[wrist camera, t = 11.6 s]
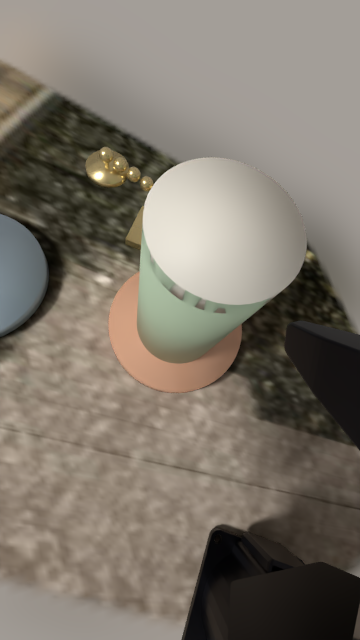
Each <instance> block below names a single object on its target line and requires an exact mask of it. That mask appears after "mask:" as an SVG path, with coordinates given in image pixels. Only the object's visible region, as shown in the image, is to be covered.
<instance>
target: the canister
mask: <svg viewBox="0 0 360 640" xmlns="http://www.w3.org/2000/svg"><path fill="white" fill-rule="evenodd" d="M306 247H307V236H306V230H305V225H304V222H303V219H302V216H301V214H300V212H299V210H298V208H297V206H296V204H295V203H294V201H293V200H292V198H291V197H290V196H289V194H288V193H287V192H286V191H285V190H284V189H283V188H282V187H281V185H279V184H278V183H277V182H276V181H275V180H274V179H272V178H271V177H270V176H268V175H266V174H265V173H263V172H262V171H260V170H258V169H257V168H254V167H252V166H250V165H248V164H245V163H242V162H239V161H235V160H231V159H225V158H199V159H194V160H190V161H186V162H183V163H181V164H179V165H177V166H175V167H173V168H171V169H170V170H168V171H167V172H165V173H164V174H163V175H162V176H161V177H160V178H159V179H158V180H157V181H156V182H155V184H154V185H153V186H152V188H151V190H150V192H149V194H148V196H147V199H146V202H145V205H144V211H143V223H142V240H141V257H140V275H139V292H138V309H137V331H138V335H139V337H140V340H141V342H142V343H143V345H144V346H145V348H146V349H147V350H148V351H149V352H150V353H151V354H152V355H154V356H155V357H157V358H158V359H160V360H163V361H165V362H169V363H175V364H182V363H188V362H192V361H194V360H196V359H198V358H200V357H201V356H202V355H204V354H205V353H206V352H207V351H209V350H210V349H211V348H212V347H214V346H215V345H216V344H217V343H218V342H220V341H221V340H222V339H223V338H225V337H226V336H227V335H228V334H229V333H231V332H232V331H233V330H234V329H236V328H237V327H238V326H239V325H240V324H242V323H243V322H244V321H245V320H247V319H248V318H249V317H250V316H252V315H253V314H254V313H255V312H256V311H258V310H259V309H260V308H261V307H263V306H264V305H265V304H266V303H267V302H269V301H270V300H271V299H272V298H274V297H275V296H276V295H277V294H278V293H280V292H281V291H282V290H283V289H285V288H286V287H287V286H288V285H289V284H290V283H291V282H292V281H293V280H294V279H295V277H296V276H297V274H298V273H299V271H300V269H301V267H302V265H303V262H304V258H305V255H306Z"/></svg>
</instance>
